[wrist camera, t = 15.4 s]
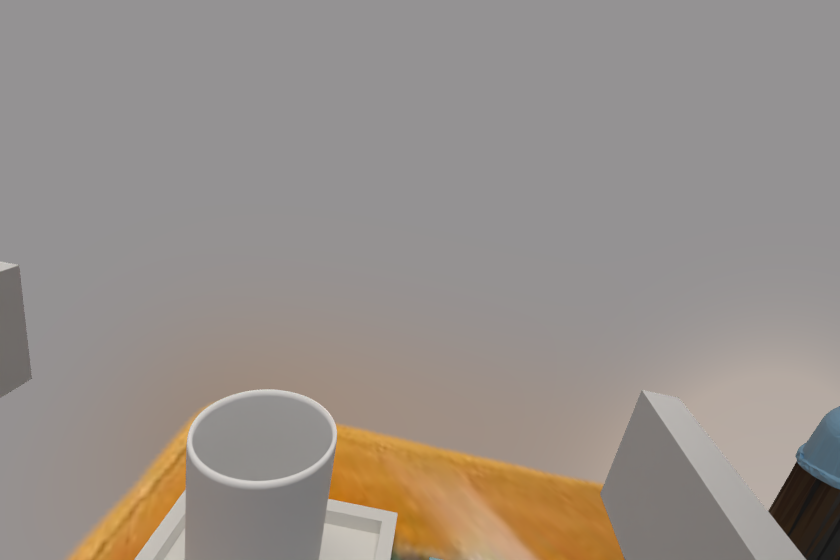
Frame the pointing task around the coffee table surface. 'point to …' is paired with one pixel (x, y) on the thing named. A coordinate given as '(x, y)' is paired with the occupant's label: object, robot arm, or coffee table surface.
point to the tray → (341, 542)
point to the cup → (258, 477)
